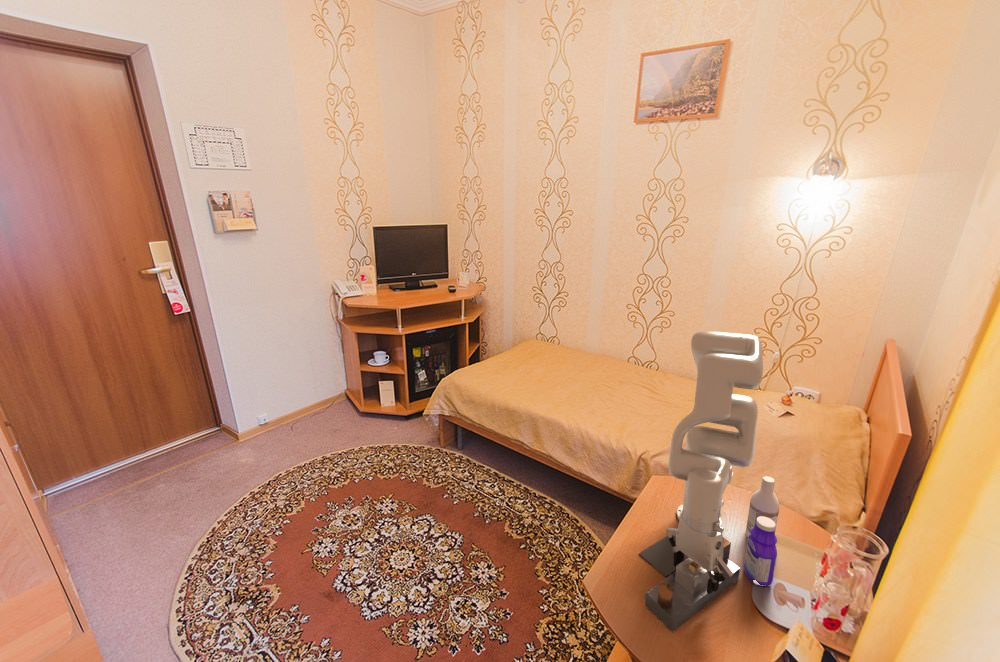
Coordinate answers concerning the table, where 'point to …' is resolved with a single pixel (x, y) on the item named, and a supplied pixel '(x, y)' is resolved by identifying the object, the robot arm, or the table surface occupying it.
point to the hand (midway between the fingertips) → (694, 576)
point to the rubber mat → (661, 556)
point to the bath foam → (763, 504)
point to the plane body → (685, 596)
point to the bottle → (761, 552)
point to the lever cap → (691, 576)
